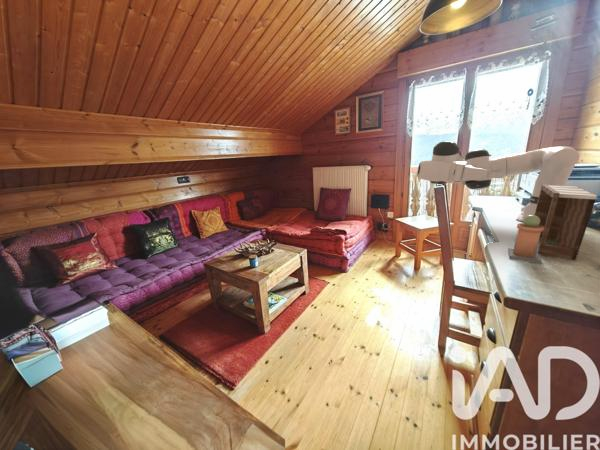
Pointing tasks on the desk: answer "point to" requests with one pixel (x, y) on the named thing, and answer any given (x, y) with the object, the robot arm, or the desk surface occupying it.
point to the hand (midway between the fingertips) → (503, 175)
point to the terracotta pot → (528, 236)
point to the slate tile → (528, 259)
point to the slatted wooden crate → (563, 219)
